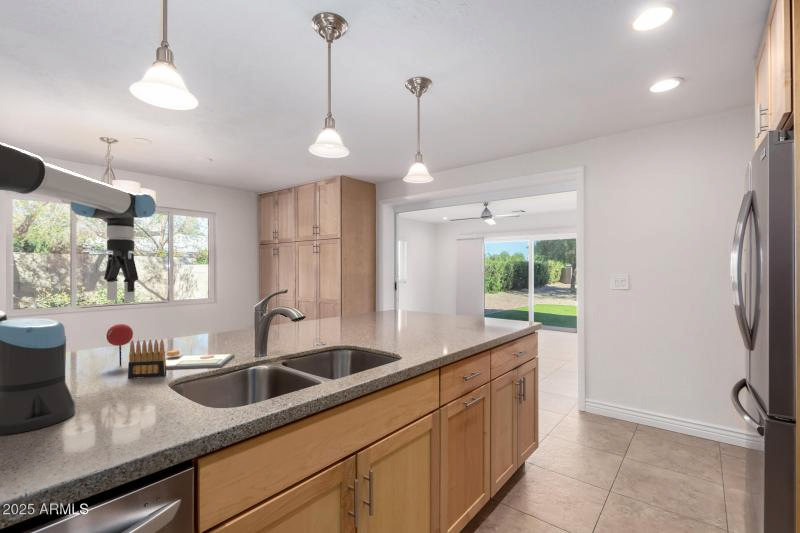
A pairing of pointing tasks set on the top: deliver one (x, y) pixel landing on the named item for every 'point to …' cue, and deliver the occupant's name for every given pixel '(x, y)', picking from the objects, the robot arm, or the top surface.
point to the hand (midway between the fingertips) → (120, 301)
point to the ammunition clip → (147, 360)
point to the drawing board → (197, 361)
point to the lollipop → (119, 336)
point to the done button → (173, 353)
